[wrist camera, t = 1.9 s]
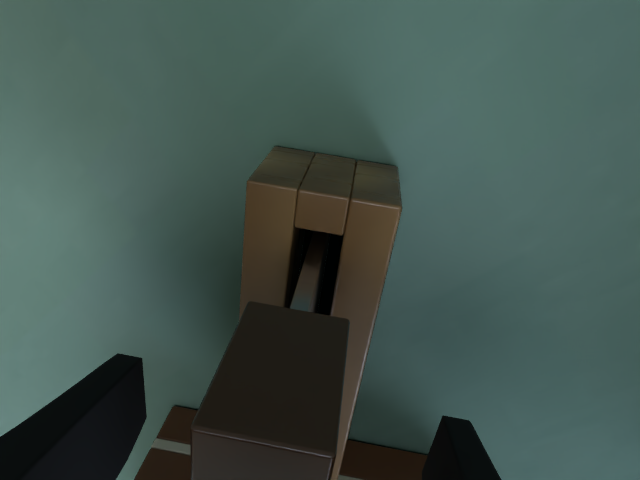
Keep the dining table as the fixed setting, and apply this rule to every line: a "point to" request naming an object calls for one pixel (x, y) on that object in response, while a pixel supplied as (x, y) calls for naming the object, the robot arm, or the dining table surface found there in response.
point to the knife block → (330, 217)
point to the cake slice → (170, 449)
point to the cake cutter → (276, 389)
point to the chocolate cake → (379, 463)
